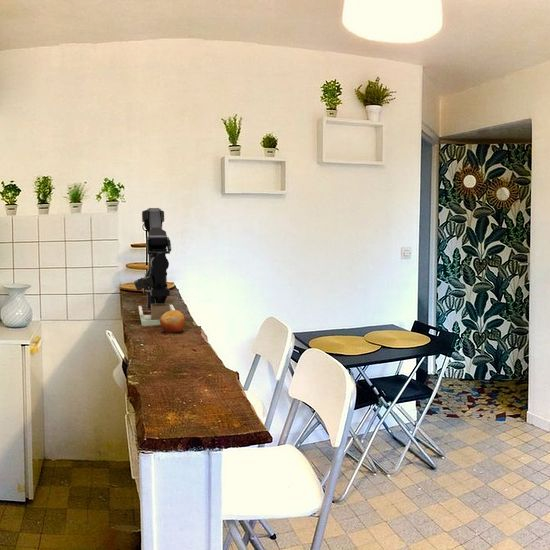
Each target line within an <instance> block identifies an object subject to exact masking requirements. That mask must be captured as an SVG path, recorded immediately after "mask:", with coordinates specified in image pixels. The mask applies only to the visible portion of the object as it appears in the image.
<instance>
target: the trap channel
mask: <svg viewBox="0 0 550 550" xmlns="http://www.w3.org/2000/svg"><path fill="white" fill-rule="evenodd" d="M169 306H170V311H173V310H176V308H175V307H174V305H173V304H169ZM138 312H139V317H140V323H141V327H148V326H149V327H150V326H161V324H160V320H151V314H144V312H143V307H142V305H138Z"/></svg>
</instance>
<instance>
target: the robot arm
mask: <svg viewBox="0 0 550 550" xmlns="http://www.w3.org/2000/svg"><path fill="white" fill-rule="evenodd" d="M141 222H142V223H143V226H144V229H145V230H146V233H147V237H146V252H147V255H148V258H147V259H148V269H147V270H146V272H145V273H144V277H140V278H137V279H136V280H134V281H133V285H134V286H135V289H136V291H137V292H139V291H142V290H143V291H142V292H143V295H146V305H145V308H151V304H155V303H166V301H167V298H168V297H170V296H171V294H170V293H171V290H170V289H169V287H168V280H167V278H168V277H167V276H168V272H167V270H168V269H169V266H170V263H169V260H168V258H167V256H166V255H167V254H168V255H169V254H171V252H172V244H171V239H170V237H168V235H167V231H166V230H164V229H163V223H164V222H165V211H164V210H162V209H161V208H159V207H152V208H151V207H149V208H147V209H145V210H142V211H141Z"/></svg>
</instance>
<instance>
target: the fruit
mask: <svg viewBox="0 0 550 550" xmlns="http://www.w3.org/2000/svg"><path fill="white" fill-rule="evenodd" d="M185 323H186V317H185V316H184V313H182V311H180V310H178V309H175V310H173V311H171V310H170V311H168V312H166V313H164V314H163V315H162V316H161V318H160V324H161V325H160V326H161V327H162V328H163V330H164V332H165V333H166V334H167V333H169V334H170V333H181V332H182V331H183V330H184V328H185V325H186V324H185Z"/></svg>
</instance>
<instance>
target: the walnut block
mask: <svg viewBox="0 0 550 550" xmlns="http://www.w3.org/2000/svg"><path fill="white" fill-rule="evenodd" d="M168 311H171V310H170V304H169V302H165V303H155V304H151V307H150V315H151V320H160V318H161V316H162V315H163V314H164V313H166V312H168Z"/></svg>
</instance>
